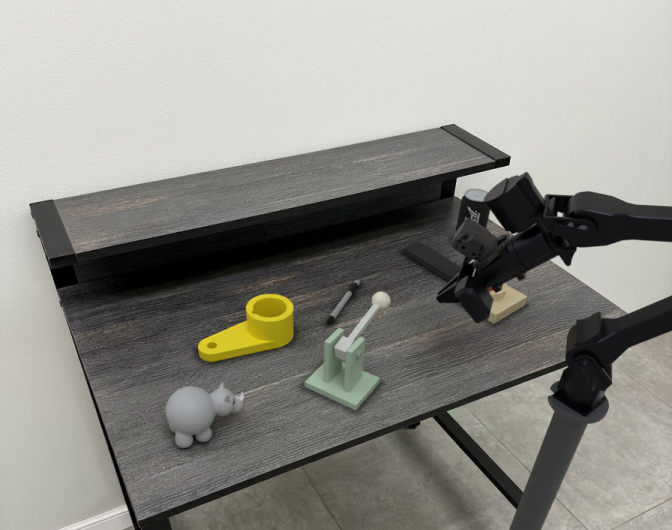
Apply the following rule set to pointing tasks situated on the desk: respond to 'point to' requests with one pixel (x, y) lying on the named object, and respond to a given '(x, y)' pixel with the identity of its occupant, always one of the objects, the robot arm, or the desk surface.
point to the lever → (362, 324)
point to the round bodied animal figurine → (198, 412)
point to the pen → (343, 302)
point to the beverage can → (473, 208)
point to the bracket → (343, 374)
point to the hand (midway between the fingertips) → (438, 297)
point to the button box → (505, 303)
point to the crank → (253, 330)
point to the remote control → (432, 260)
